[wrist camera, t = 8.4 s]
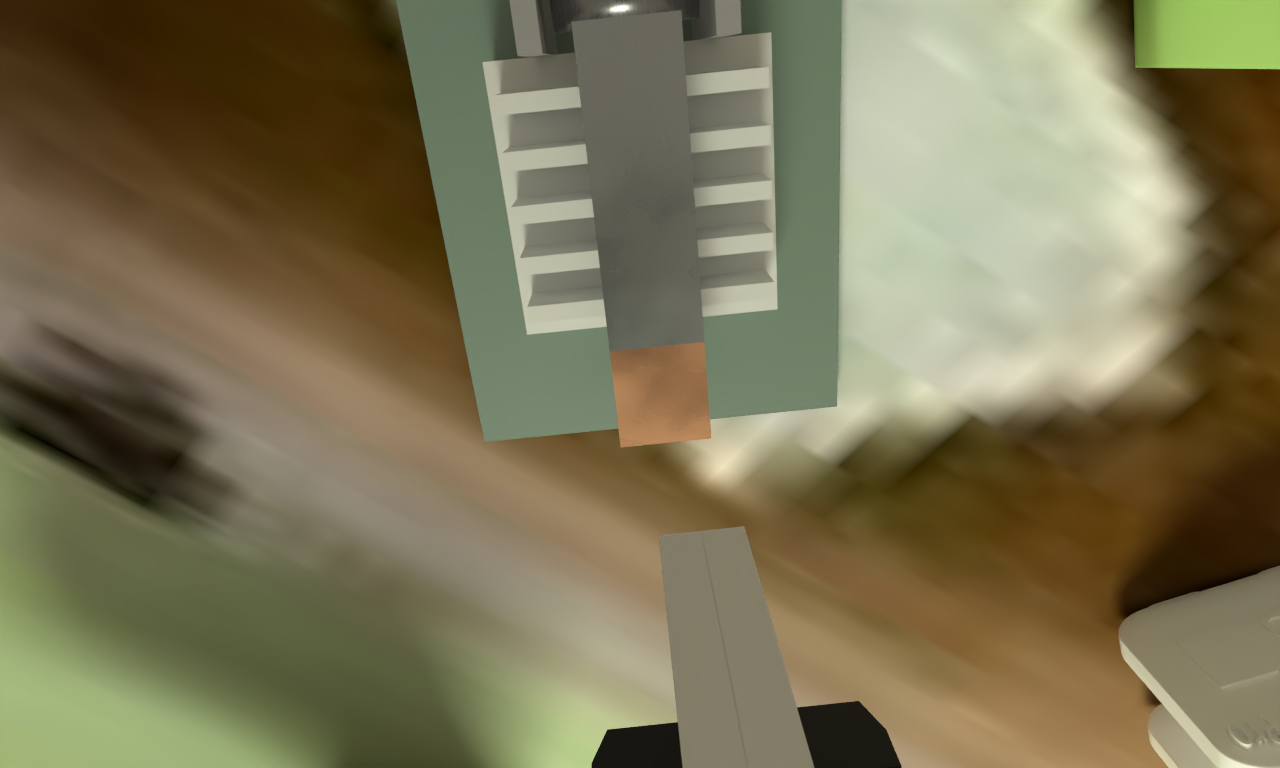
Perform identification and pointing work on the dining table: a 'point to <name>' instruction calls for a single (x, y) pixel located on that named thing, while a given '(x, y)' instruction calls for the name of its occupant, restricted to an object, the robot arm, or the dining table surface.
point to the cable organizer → (1212, 673)
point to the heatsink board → (564, 220)
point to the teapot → (1207, 34)
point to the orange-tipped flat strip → (643, 209)
